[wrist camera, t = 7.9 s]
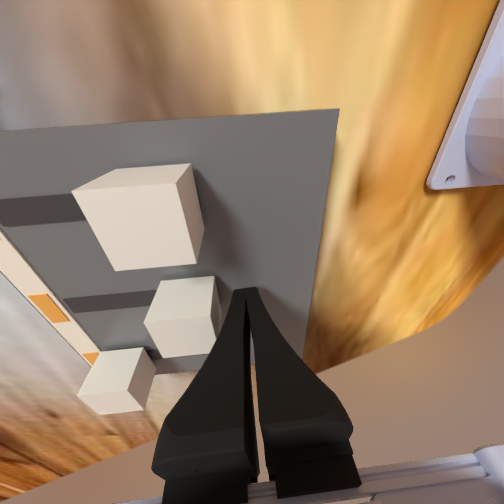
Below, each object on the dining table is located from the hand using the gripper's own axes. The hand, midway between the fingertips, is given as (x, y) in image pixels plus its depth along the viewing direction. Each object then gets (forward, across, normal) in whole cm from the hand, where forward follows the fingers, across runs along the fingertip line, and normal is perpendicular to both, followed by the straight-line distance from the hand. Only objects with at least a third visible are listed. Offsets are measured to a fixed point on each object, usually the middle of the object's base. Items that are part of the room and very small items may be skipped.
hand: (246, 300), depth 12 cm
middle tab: (+1, +3, 0) cm, 3 cm away
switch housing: (+2, +4, 0) cm, 5 cm away
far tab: (+1, +10, +6) cm, 11 cm away
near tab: (+1, +3, -6) cm, 7 cm away
